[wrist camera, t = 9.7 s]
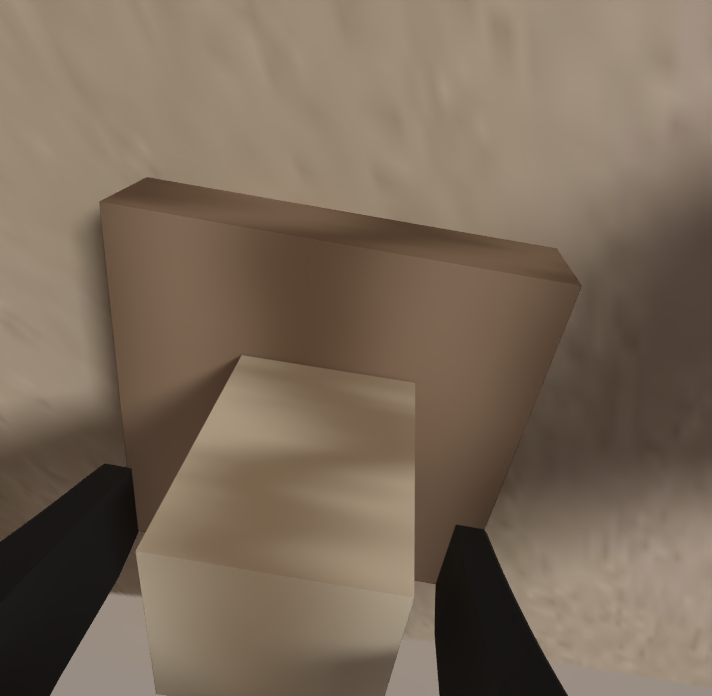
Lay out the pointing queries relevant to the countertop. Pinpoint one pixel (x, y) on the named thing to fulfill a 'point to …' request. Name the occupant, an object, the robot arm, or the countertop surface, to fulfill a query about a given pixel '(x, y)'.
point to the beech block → (286, 539)
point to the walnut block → (329, 331)
